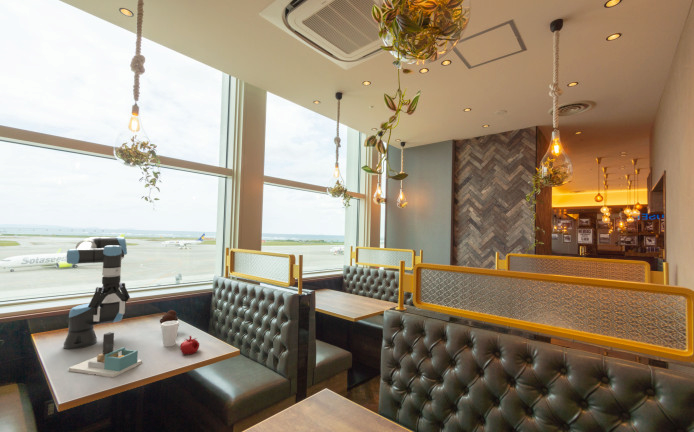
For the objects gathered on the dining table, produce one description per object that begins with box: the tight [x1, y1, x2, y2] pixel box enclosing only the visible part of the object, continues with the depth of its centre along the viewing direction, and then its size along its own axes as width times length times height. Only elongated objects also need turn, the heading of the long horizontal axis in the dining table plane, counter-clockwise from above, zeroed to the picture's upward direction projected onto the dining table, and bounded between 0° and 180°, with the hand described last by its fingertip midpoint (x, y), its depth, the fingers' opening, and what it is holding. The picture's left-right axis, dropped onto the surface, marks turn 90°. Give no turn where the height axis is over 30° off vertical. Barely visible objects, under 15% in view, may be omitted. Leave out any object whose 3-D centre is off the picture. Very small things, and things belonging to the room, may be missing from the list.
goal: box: [104, 346, 139, 371], centre depth 155 cm, size 9×10×7 cm
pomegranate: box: [179, 335, 200, 355], centre depth 177 cm, size 10×10×9 cm
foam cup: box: [160, 321, 180, 348], centre depth 188 cm, size 10×9×13 cm
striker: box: [96, 331, 119, 363], centre depth 157 cm, size 6×6×15 cm
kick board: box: [68, 354, 143, 378], centre depth 157 cm, size 27×16×4 cm, turn 78°
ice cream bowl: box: [159, 309, 179, 325], centre depth 208 cm, size 11×11×15 cm
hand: (109, 317), depth 158 cm, fingers open, 13 cm apart
